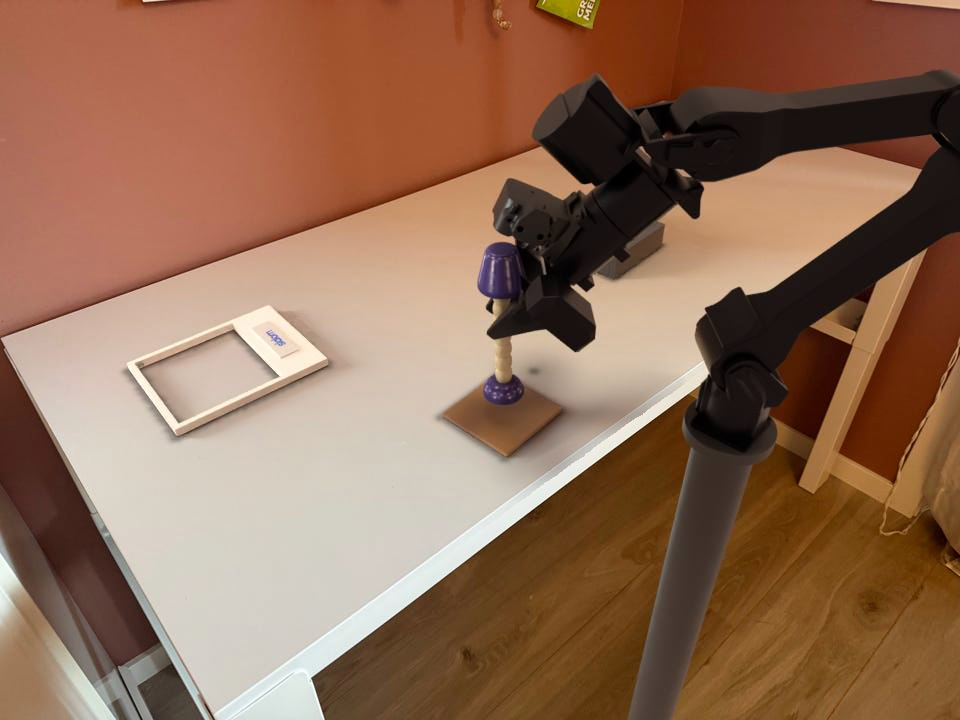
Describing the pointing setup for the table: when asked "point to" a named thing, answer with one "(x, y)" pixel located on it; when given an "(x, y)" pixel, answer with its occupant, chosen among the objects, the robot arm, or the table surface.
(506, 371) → the toy lamp
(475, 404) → the cork pad
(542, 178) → the table surface
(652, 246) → the grey square tray
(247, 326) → the photo frame
